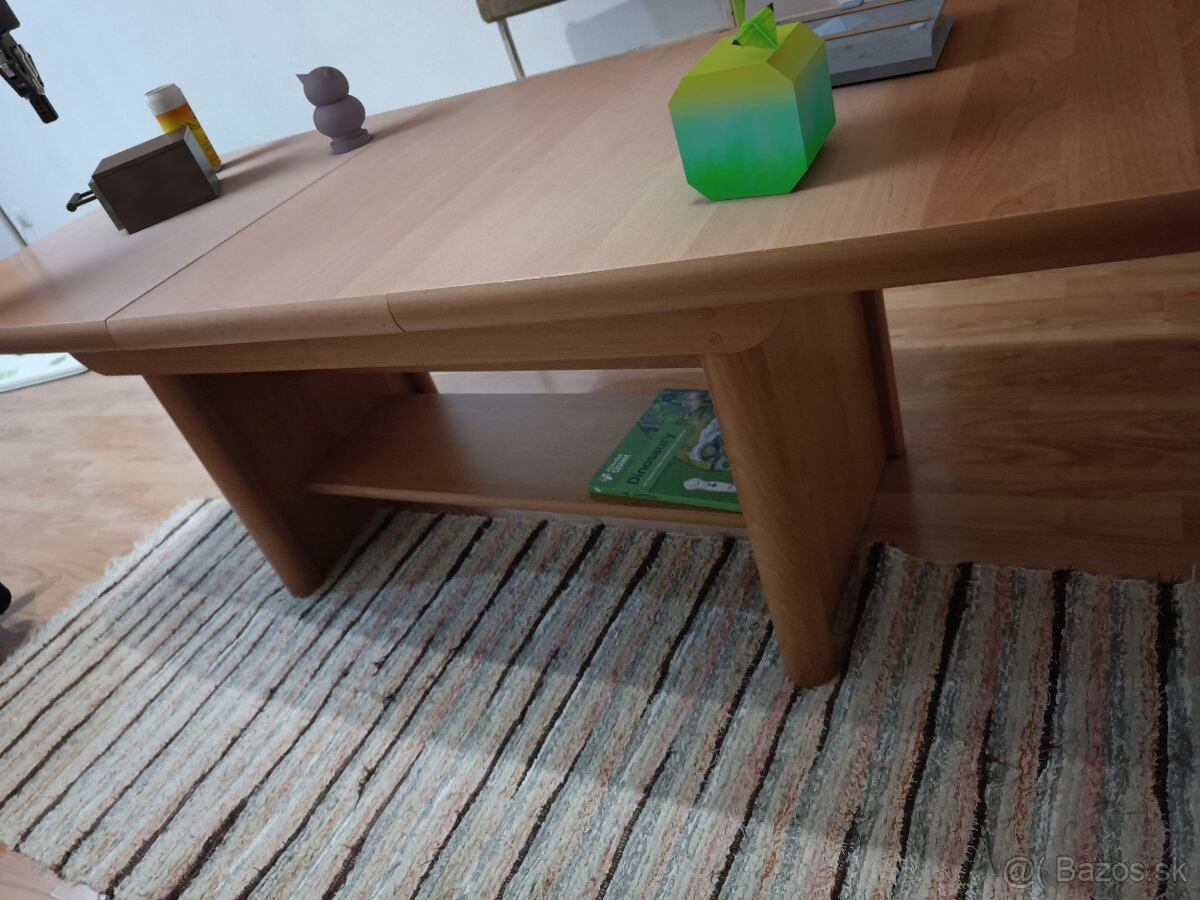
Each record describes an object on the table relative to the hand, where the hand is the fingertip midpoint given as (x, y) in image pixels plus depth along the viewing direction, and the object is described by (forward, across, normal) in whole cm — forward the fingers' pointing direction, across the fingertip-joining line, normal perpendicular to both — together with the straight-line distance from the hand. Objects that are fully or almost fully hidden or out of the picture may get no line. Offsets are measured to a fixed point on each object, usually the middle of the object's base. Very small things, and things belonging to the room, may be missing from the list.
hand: (52, 121), depth 133 cm
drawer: (+16, +3, +6) cm, 18 cm away
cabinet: (+17, +3, +10) cm, 20 cm away
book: (+17, +72, +91) cm, 117 cm away
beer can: (+17, -13, +15) cm, 26 cm away
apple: (+17, +90, +71) cm, 116 cm away
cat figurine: (+17, +12, +40) cm, 45 cm away
